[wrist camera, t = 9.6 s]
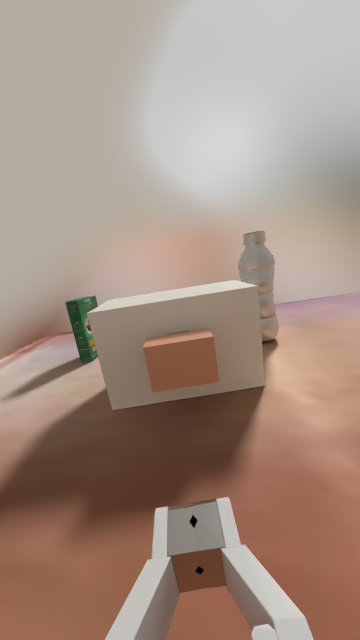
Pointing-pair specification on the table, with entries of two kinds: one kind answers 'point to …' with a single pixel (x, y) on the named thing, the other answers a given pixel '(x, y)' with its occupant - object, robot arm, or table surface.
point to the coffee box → (83, 326)
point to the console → (170, 317)
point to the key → (181, 360)
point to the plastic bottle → (260, 280)
